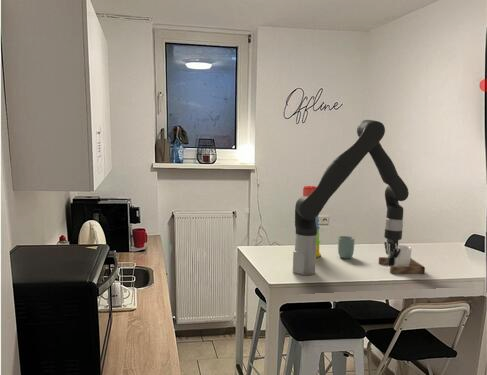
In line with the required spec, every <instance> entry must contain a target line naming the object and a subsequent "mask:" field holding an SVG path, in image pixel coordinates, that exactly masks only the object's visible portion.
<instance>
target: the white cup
mask: <svg viewBox="0 0 487 375" xmlns="http://www.w3.org/2000/svg"><path fill="white" fill-rule="evenodd" d="M398 249H400V250H401V251H400V253H399V255H398V256H397V258H394V265H393V266H409V264H410V258H411V259H412V256H411V255H412V247H411V246H408V245H403V244H398Z"/></svg>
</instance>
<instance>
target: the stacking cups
mask: <svg viewBox="0 0 487 375" xmlns="http://www.w3.org/2000/svg"><path fill="white" fill-rule="evenodd" d="M316 188H317V186H315V185H308V186H307V185H305V186H303V188H302V197H303V196H309V195H310V194H311V193H312V192H313V191H314V190H315V189H316ZM319 216H320V213H319V214H318V216H317V217H316V227H317V243H316V258H319V257H320V256H321V253H320V243H321V240H320V226H319Z"/></svg>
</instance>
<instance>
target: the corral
mask: <svg viewBox="0 0 487 375" xmlns="http://www.w3.org/2000/svg"><path fill="white" fill-rule="evenodd" d="M378 264H379V265H388V256H380V257H379V256H378ZM425 270H426V267H425V266H424V265H422V264H421V263H419V262H418V261H416V260H414V259H413V258H412V257H411V258H410V264H409V266H389V274H391V275H425V273H426V272H425Z"/></svg>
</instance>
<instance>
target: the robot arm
mask: <svg viewBox="0 0 487 375" xmlns="http://www.w3.org/2000/svg"><path fill="white" fill-rule="evenodd" d="M385 133H386V128H385V125H384V123H383V122H381V121H378V120H372V119H364V120H361V121H360V122H359V123H358V124H357V127H356V134H357V136H358V138H357V140H356V141H355V142H354V143H353V144H352V145H351V146H350V147H348V148H346V149H345V150H344V151H342V152H341V153H340V154H338V155H337V156H336V157H334V159H333V160H332V161H331V162H330V164H329V165H328V166H327V168H326V169H325V171H324V172H323V174H322V176H321V178H320V181H319V182H318V185H317V186H316V187H317V188H316V189H315V190H314V191H313V192H312V193H311V194H310V195H309V196H303V195H302V196H301V197H299V198H298V199H297V201H296V203H295V206H294V207H295V209H294V227H295V228H294V229H295V237H294V239H295V241H294V250H293V255H292V272H293V274H297V275H301V276H310V275H314V274H315V273H316V260H317V257H316V243H317V227H316V217H317V216H318V217H319V215H320V213H321V212H322V210H323V209H324V207H325V205H326V204H327V203H328V202H329V200H330V198H332V196H333V194H334V193H336V192H337V190H338V189H339V188H340V187H341V186H342V185H343V183H344V182H346V180H347V179H348V178H349V176H350V175H351V174H352V173H353V171H354V170H355V168H357V167H358V165H359V164H360V163H361V162H362V160H363V159H364V158H365V157H366V156H367V155H368V154H369V155H370V157H371V159H372V161H373V163H374V165H375V166H376V169H377V171H378V173H379V176H380V177H381V180H382V182H383V183H384V184H386V185H387V186H386V188H385V191H384V198H385V205H386V218H385V223H384V224H385V226H384V233H383V235H384V236H383V237H384V239H386V241H385V242H384V244H383V245H384V250H385V253H386V255H387V257H388V264H387V265H388V266H389V267H390V266H393V265H394V258H397V256H398V255H399V253H400V251H401V250H400V249H398V245H399V241H401V240H402V239H403V227H404V221H403V220H404V207H403V206H402V205H400V202H404V201H406V200H407V199H408V198H409V196H410V195H409V194H410V193H409V188H408V186H407V183H405V182H404V180H403V179H402V177H400V175H399V173H398V171H397V168H396V167H395V164H394V162H393V160H392V159H391V157H390V156H389V155H388V154H387V152H386V151H385V149H384V148H383V146H382V144H381V142H380V141H381V140H382V139H384V138H383V137H384V135H385ZM318 214H319V215H318Z"/></svg>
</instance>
